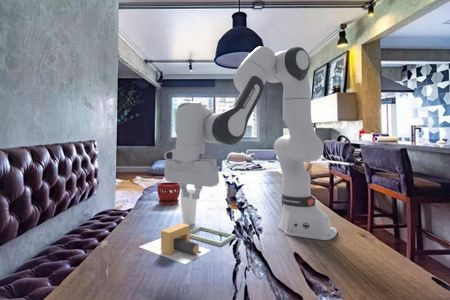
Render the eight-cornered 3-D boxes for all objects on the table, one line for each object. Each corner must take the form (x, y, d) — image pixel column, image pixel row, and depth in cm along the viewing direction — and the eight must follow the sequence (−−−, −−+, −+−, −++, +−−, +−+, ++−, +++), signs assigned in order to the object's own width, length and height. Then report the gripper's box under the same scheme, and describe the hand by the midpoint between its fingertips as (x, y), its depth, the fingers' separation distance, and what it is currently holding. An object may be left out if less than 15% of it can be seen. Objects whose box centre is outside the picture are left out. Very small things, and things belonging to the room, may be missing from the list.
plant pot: (178, 206, 149) (177, 185, 149) (154, 206, 150) (154, 185, 149) (182, 200, 162) (182, 181, 162) (160, 201, 163) (160, 181, 162)
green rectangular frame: (235, 240, 98) (235, 234, 98) (220, 249, 91) (220, 242, 91) (200, 231, 108) (200, 226, 108) (184, 238, 101) (184, 232, 101)
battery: (199, 255, 85) (200, 243, 85) (191, 255, 82) (193, 244, 83) (170, 245, 92) (172, 235, 93) (162, 246, 90) (164, 235, 90)
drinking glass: (182, 228, 112) (181, 193, 112) (180, 223, 119) (180, 190, 118) (198, 226, 114) (197, 192, 113) (195, 222, 121) (195, 189, 120)
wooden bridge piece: (190, 245, 91) (189, 225, 91) (169, 255, 84) (169, 232, 83) (181, 242, 93) (181, 222, 93) (161, 251, 86) (160, 230, 86)
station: (211, 253, 87) (211, 248, 87) (185, 268, 78) (185, 262, 78) (165, 239, 100) (165, 234, 100) (138, 250, 91) (138, 245, 91)
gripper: (223, 154, 79) (223, 200, 80) (175, 152, 91) (175, 192, 92) (209, 155, 74) (210, 204, 75) (160, 153, 86) (161, 196, 87)
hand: (190, 198), depth 84 cm, fingers open, 3 cm apart
